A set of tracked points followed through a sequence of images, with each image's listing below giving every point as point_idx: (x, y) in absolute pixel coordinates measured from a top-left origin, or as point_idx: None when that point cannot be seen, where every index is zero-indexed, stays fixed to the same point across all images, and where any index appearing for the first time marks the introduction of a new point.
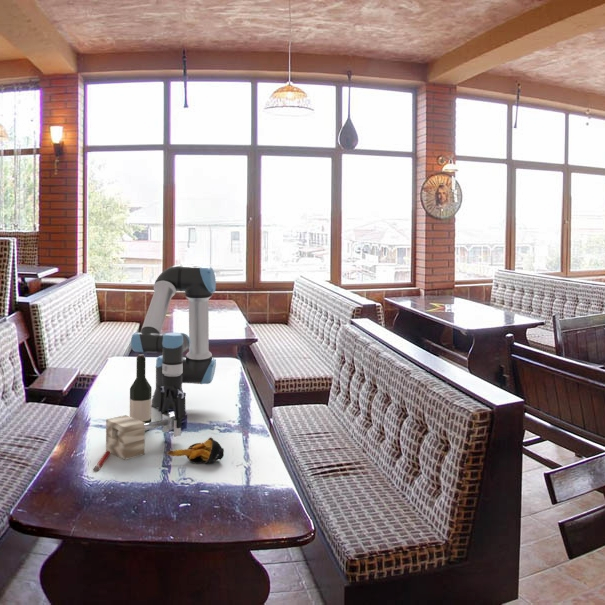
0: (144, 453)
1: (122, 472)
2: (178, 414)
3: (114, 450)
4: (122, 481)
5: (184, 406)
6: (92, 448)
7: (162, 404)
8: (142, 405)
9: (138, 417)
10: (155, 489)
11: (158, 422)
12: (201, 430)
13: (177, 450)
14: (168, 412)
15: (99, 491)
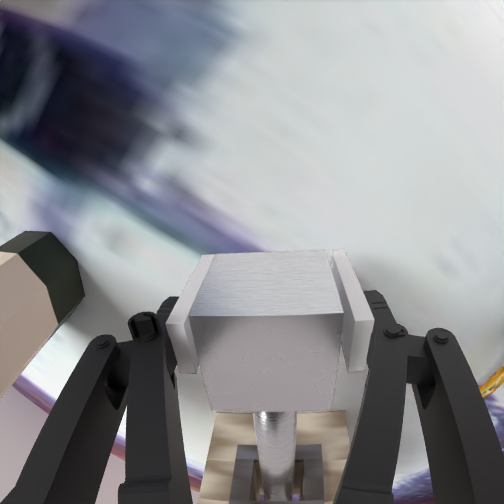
0: (344, 412)
1: (396, 464)
2: (420, 407)
3: None
4: (428, 468)
5: (486, 427)
6: (187, 455)
7: (107, 418)
8: (7, 379)
9: (42, 344)
10: (501, 434)
11: (289, 431)
12: (233, 8)
13: (495, 389)
14: (153, 326)
15: (420, 488)
